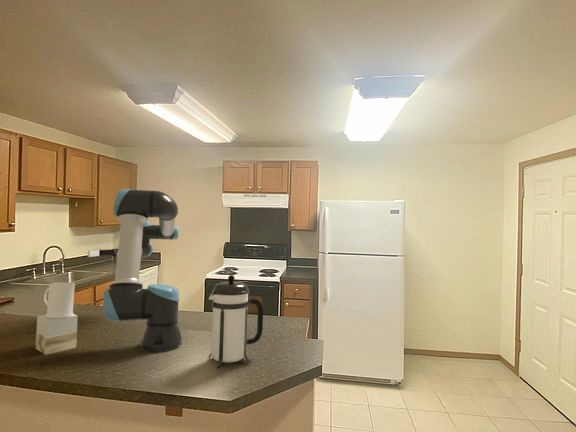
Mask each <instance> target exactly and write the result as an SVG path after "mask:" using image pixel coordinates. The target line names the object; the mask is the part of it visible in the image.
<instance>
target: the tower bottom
mask: <svg viewBox="0 0 576 432" xmlns="http://www.w3.org/2000/svg"><path fill="white" fill-rule="evenodd" d="M35 333H36V334H35V346H34V347H35V350H37V351H39V352H40V353H42V354H43V355H50V354H55V353H60V352H63V351H67V350H72V349H75V348H77V343H78V342H77V340H78V339H77V337H78V331H77V332H73V333H68V334H63V335H58V336H52V337H47V338H45V337H44V336H42V335H40V334H39V333H37V331H36V332H35Z"/></svg>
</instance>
